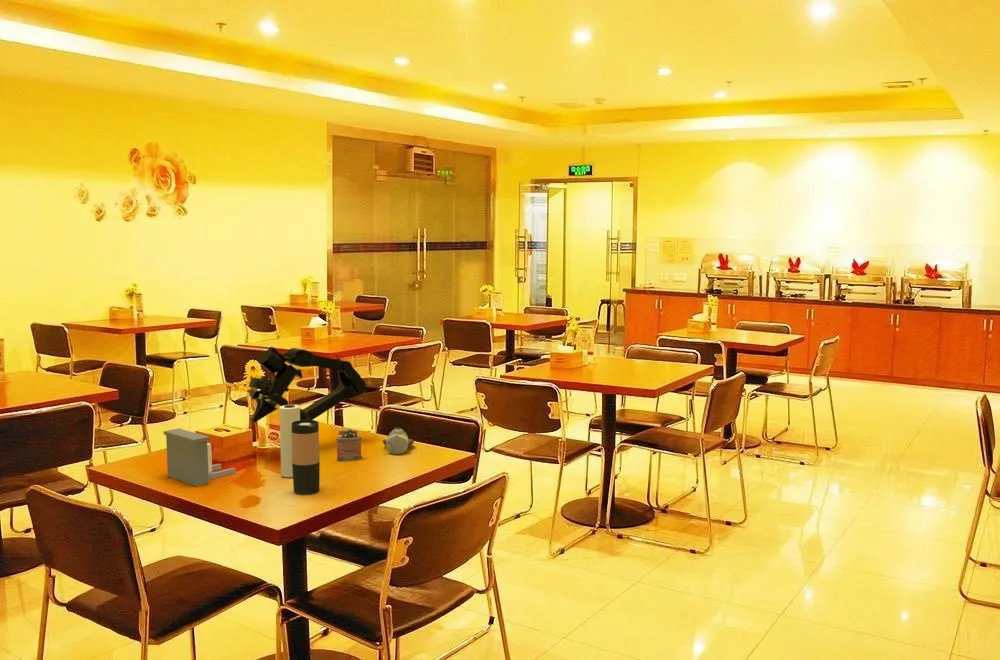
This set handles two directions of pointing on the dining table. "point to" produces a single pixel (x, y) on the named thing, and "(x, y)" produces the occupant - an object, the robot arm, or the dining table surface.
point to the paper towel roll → (287, 436)
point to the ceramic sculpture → (397, 441)
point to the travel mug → (305, 457)
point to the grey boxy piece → (190, 458)
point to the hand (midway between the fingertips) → (253, 421)
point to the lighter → (348, 445)
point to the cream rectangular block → (209, 458)
